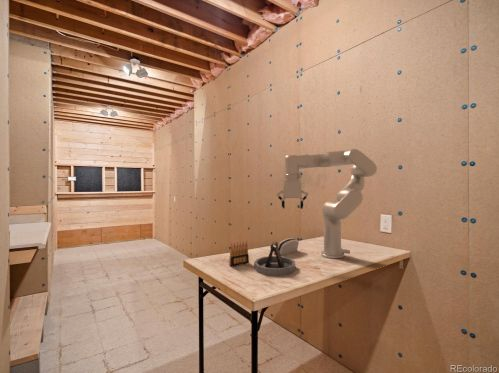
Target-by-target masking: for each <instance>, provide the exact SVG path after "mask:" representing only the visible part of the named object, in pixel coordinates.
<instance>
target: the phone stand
mask: <svg viewBox="0 0 499 373" xmlns="http://www.w3.org/2000/svg"><path fill="white" fill-rule="evenodd" d="M278 244H279V242H278V241H273V242H272V243H271V245H270V251H269V254H268V259H267V262H266V265H265V267H266V268H283V267H284V263H283V260H282V257H283V256H282V257H281V254H280V252H279V249H278ZM274 252H275V254H274ZM272 256H276V259H277V262H278V264H270V263H271V259H272Z"/></svg>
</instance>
